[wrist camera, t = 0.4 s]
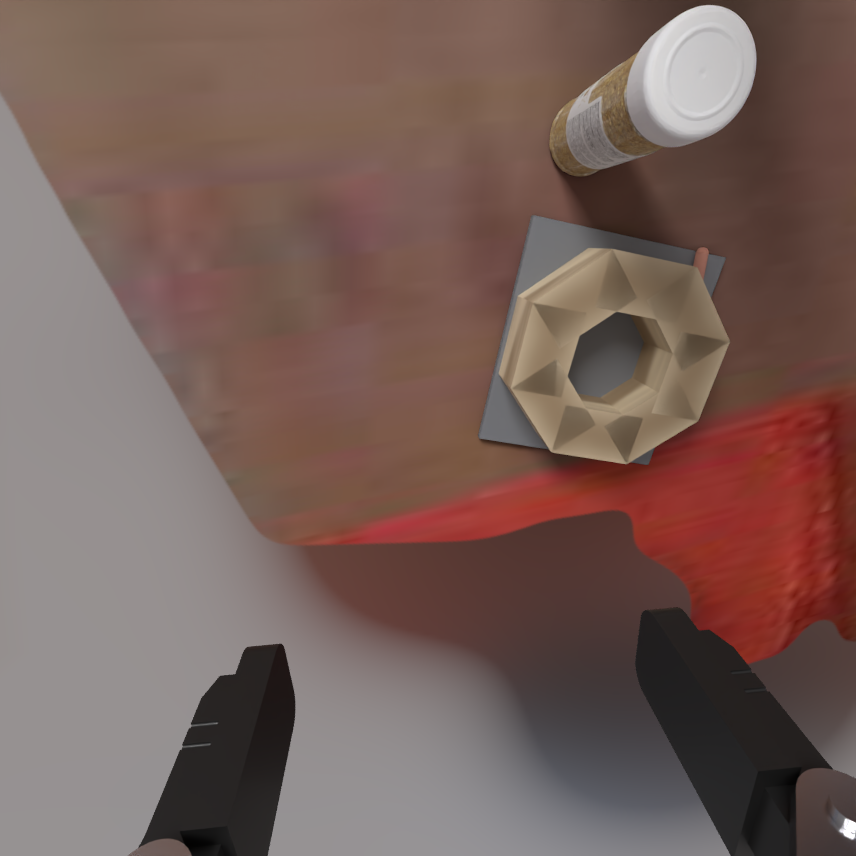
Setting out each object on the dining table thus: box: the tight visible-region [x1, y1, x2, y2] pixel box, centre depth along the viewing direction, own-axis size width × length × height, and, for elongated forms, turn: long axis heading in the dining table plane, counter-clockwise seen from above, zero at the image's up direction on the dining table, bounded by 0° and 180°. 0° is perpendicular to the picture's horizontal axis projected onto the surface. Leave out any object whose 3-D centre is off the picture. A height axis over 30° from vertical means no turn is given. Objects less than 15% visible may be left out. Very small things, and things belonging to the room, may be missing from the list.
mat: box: [478, 215, 726, 465], centre depth 37 cm, size 16×14×1 cm
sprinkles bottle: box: [549, 5, 756, 176], centre depth 26 cm, size 5×5×13 cm
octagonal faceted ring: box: [499, 248, 730, 464], centre depth 34 cm, size 14×14×4 cm
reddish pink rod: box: [693, 247, 709, 279], centre depth 36 cm, size 13×1×1 cm, turn 179°
